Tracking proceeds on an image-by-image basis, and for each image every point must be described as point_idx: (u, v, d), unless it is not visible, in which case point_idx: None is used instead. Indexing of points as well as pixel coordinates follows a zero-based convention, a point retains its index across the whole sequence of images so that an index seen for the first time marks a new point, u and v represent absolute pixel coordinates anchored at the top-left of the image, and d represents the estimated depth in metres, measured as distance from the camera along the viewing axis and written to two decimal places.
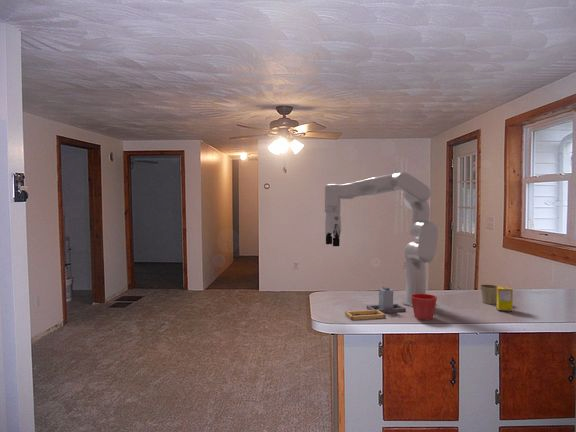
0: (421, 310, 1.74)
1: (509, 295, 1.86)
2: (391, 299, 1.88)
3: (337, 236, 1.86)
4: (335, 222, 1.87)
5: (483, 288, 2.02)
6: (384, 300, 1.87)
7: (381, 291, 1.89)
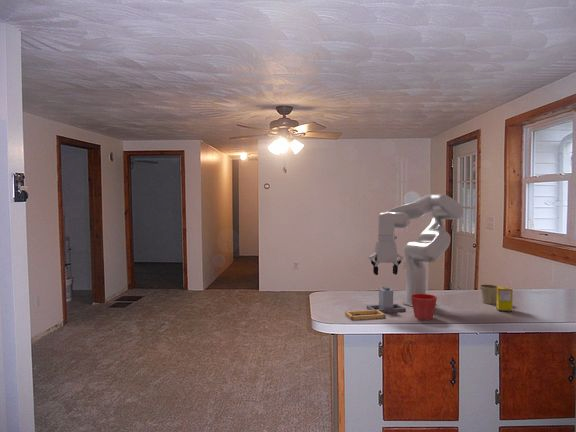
0: (421, 310, 1.74)
1: (509, 295, 1.86)
2: (391, 299, 1.88)
3: None
4: None
5: (483, 288, 2.02)
6: (384, 300, 1.87)
7: (381, 291, 1.89)
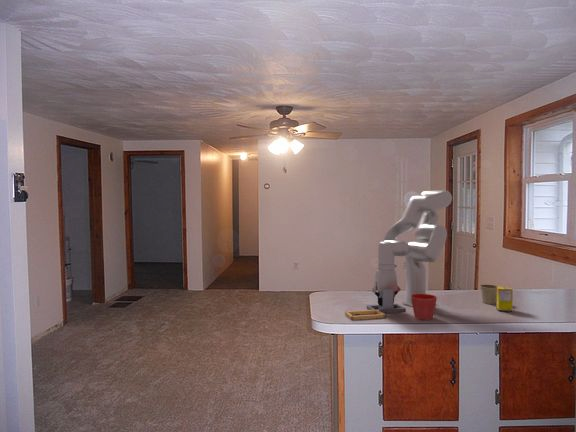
0: (421, 310, 1.74)
1: (509, 295, 1.86)
2: (391, 299, 1.88)
3: None
4: None
5: (483, 288, 2.02)
6: (384, 300, 1.87)
7: None
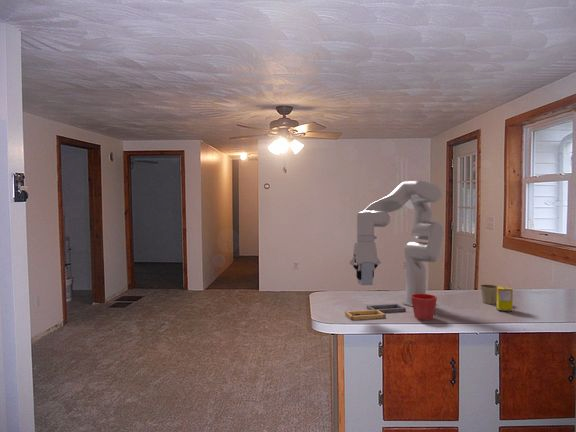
0: (421, 310, 1.74)
1: (509, 295, 1.86)
2: (370, 272, 1.77)
3: None
4: None
5: (483, 288, 2.02)
6: (363, 273, 1.76)
7: None
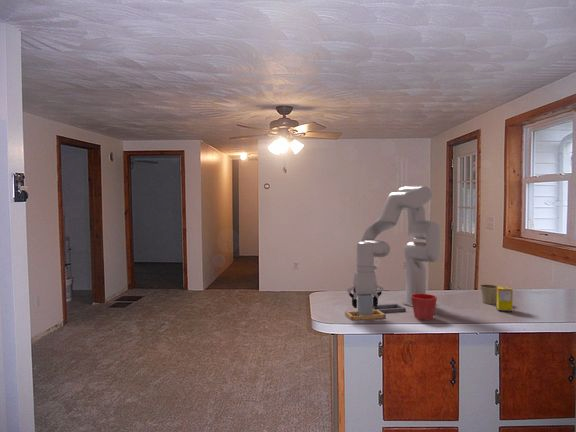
0: (421, 310, 1.74)
1: (509, 295, 1.86)
2: (370, 305, 1.77)
3: None
4: None
5: (483, 288, 2.02)
6: (363, 306, 1.77)
7: (360, 296, 1.79)
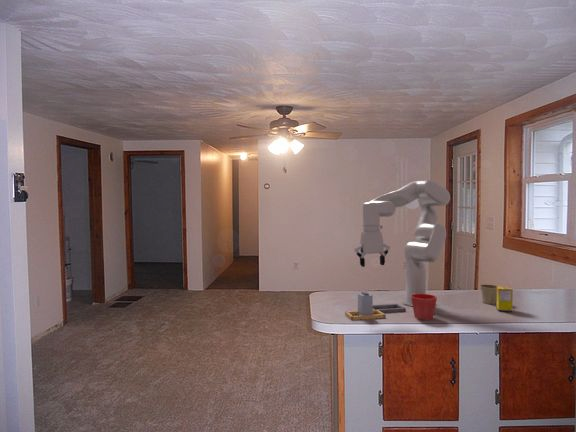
0: (421, 310, 1.74)
1: (509, 295, 1.86)
2: (370, 305, 1.77)
3: None
4: None
5: (483, 288, 2.02)
6: (363, 306, 1.77)
7: (360, 296, 1.79)
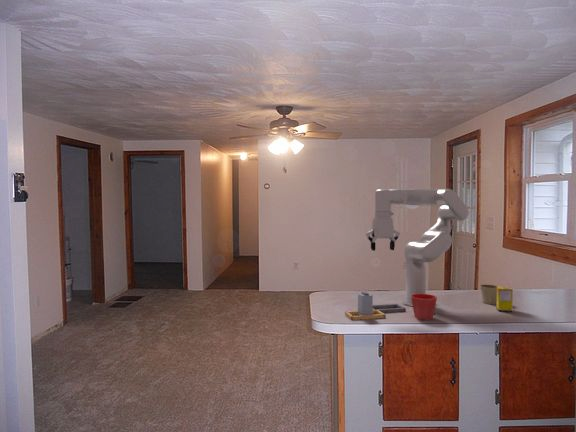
0: (421, 310, 1.74)
1: (509, 295, 1.86)
2: (370, 305, 1.77)
3: None
4: None
5: (483, 288, 2.02)
6: (363, 306, 1.77)
7: (360, 296, 1.79)
